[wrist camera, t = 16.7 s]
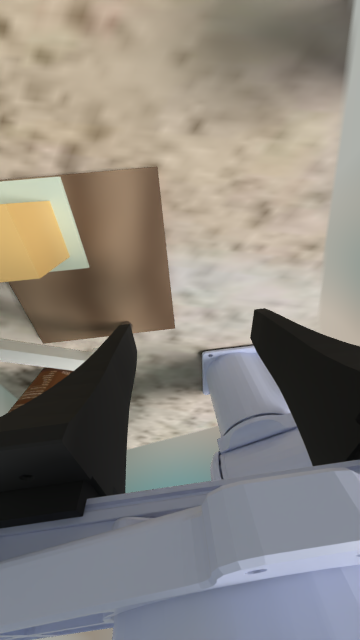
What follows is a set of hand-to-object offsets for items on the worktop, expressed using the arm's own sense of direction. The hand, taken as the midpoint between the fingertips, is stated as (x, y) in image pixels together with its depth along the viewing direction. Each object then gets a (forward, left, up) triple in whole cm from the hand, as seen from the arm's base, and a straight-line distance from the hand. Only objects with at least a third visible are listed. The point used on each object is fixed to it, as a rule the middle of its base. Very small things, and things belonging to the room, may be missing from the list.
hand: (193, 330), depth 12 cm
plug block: (+11, -5, -8) cm, 15 cm away
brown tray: (+8, -2, -9) cm, 12 cm away
